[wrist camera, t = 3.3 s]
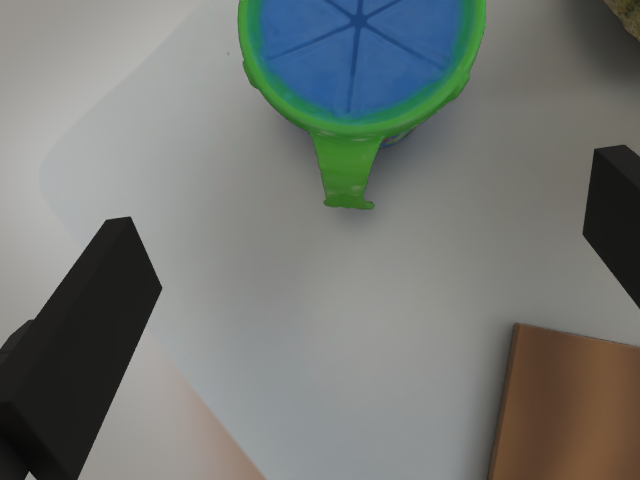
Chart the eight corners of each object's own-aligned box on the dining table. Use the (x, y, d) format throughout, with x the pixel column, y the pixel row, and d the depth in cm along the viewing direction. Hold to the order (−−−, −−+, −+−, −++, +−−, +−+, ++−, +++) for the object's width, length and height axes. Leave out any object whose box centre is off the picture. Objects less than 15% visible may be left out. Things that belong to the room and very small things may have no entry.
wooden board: (471, 563, 29) (475, 574, 28) (514, 322, 29) (519, 324, 28) (738, 634, 27) (752, 648, 26) (779, 374, 27) (794, 379, 26)
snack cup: (425, 235, 30) (446, 217, 20) (258, 201, 31) (198, 168, 21) (478, -15, 30) (524, -157, 20) (311, -37, 32) (277, -179, 22)
